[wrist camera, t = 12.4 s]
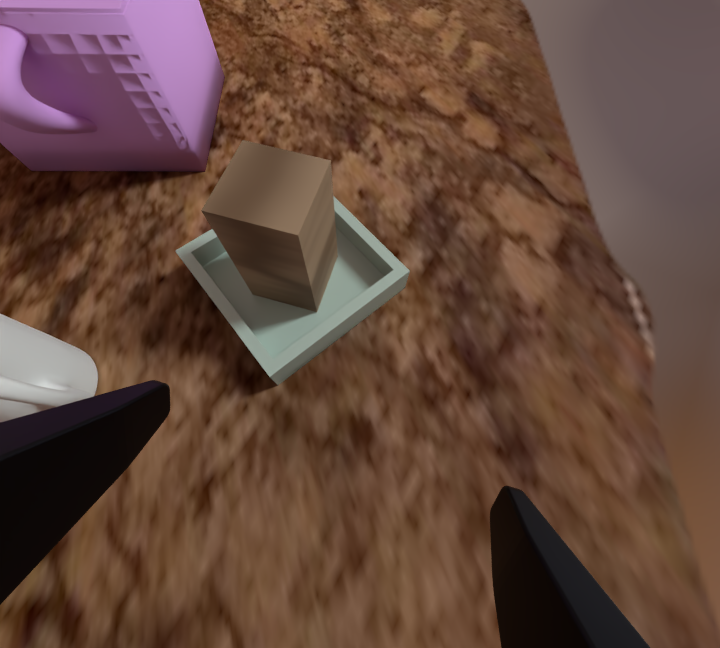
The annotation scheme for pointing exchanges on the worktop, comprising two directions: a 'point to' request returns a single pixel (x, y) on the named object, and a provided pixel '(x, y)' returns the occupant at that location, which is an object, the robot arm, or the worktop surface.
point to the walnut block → (277, 222)
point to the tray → (290, 323)
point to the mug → (40, 371)
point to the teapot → (108, 84)
